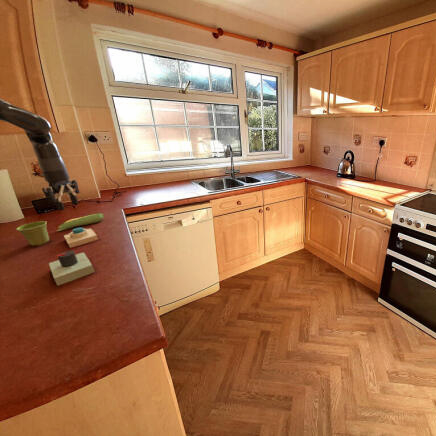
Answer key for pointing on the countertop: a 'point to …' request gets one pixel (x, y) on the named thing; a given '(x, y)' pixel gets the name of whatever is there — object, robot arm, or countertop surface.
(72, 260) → the dial
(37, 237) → the plant pot
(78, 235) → the button box
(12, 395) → the countertop surface
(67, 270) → the panel
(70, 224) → the green cucumber
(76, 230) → the button
